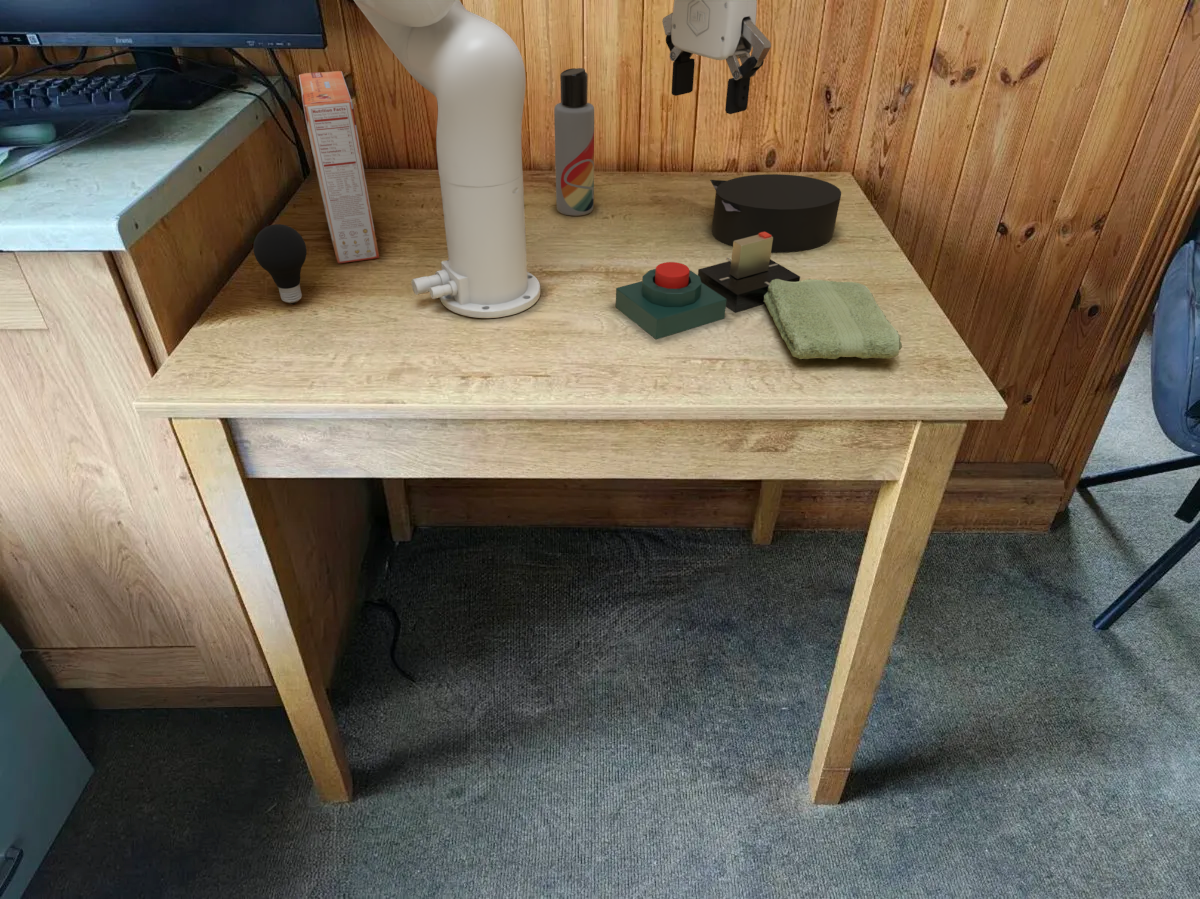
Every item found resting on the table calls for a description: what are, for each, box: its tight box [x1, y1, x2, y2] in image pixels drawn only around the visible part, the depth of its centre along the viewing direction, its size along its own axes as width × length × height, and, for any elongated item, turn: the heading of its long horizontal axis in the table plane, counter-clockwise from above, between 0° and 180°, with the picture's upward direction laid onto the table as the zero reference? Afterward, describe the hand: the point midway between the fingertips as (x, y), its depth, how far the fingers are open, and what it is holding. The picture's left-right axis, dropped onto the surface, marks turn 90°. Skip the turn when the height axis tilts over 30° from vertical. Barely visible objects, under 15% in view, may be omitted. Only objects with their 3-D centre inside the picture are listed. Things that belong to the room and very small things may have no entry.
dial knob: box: [730, 232, 773, 279], centre depth 104 cm, size 5×2×5 cm, turn 121°
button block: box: [615, 268, 727, 340], centre depth 101 cm, size 10×9×4 cm
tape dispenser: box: [709, 173, 842, 253], centre depth 120 cm, size 14×18×8 cm
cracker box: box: [298, 70, 380, 264], centre depth 111 cm, size 14×6×21 cm, turn 18°
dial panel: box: [697, 257, 801, 314], centre depth 107 cm, size 10×9×3 cm
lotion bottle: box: [553, 67, 595, 217], centre depth 122 cm, size 6×6×20 cm
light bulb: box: [253, 223, 308, 305], centre depth 100 cm, size 6×6×10 cm
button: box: [655, 261, 690, 289], centre depth 99 cm, size 4×4×2 cm
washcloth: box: [764, 278, 903, 360], centre depth 98 cm, size 13×18×3 cm
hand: (708, 102), depth 105 cm, fingers open, 9 cm apart
